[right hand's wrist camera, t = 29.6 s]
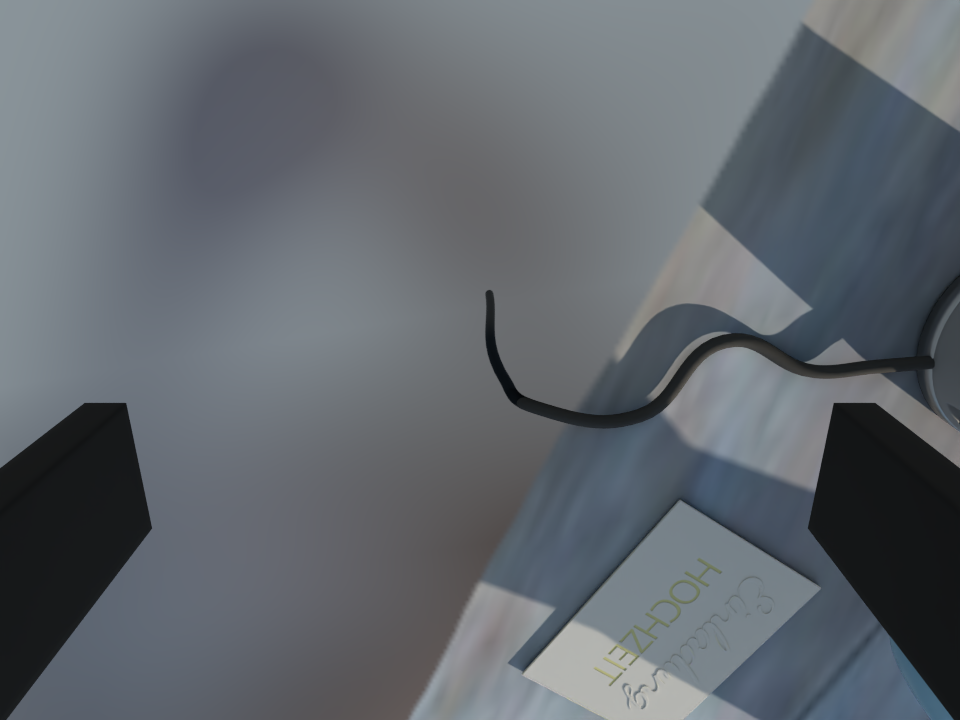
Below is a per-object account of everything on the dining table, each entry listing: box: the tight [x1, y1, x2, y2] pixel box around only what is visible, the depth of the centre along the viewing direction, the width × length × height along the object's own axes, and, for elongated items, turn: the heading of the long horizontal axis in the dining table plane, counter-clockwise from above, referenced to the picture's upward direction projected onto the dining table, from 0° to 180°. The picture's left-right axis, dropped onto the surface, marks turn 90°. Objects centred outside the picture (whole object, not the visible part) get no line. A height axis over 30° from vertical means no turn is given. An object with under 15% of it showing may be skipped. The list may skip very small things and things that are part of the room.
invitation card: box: [522, 500, 821, 720], centre depth 57 cm, size 21×1×15 cm
